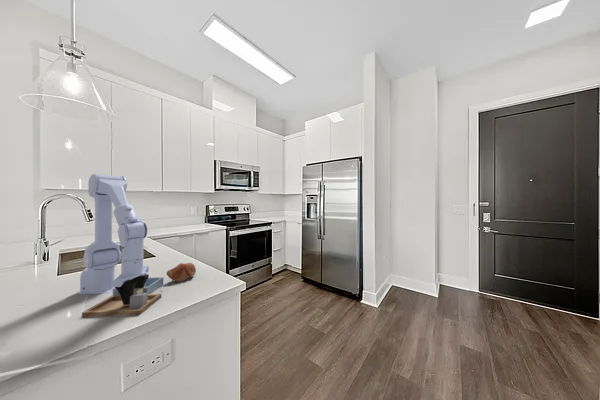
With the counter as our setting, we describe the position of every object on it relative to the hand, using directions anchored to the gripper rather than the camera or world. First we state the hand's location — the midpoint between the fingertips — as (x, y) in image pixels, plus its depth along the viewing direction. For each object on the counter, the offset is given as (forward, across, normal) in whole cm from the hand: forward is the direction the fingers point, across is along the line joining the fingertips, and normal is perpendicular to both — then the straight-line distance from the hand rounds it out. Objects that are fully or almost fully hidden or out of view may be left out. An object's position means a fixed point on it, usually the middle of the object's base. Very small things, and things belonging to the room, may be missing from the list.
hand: (132, 300), depth 73 cm
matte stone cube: (+1, -3, -4) cm, 5 cm away
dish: (+2, +12, +4) cm, 13 cm away
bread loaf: (+2, +24, -5) cm, 25 cm away
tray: (+2, -1, +2) cm, 2 cm away
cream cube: (+1, 0, 0) cm, 1 cm away
